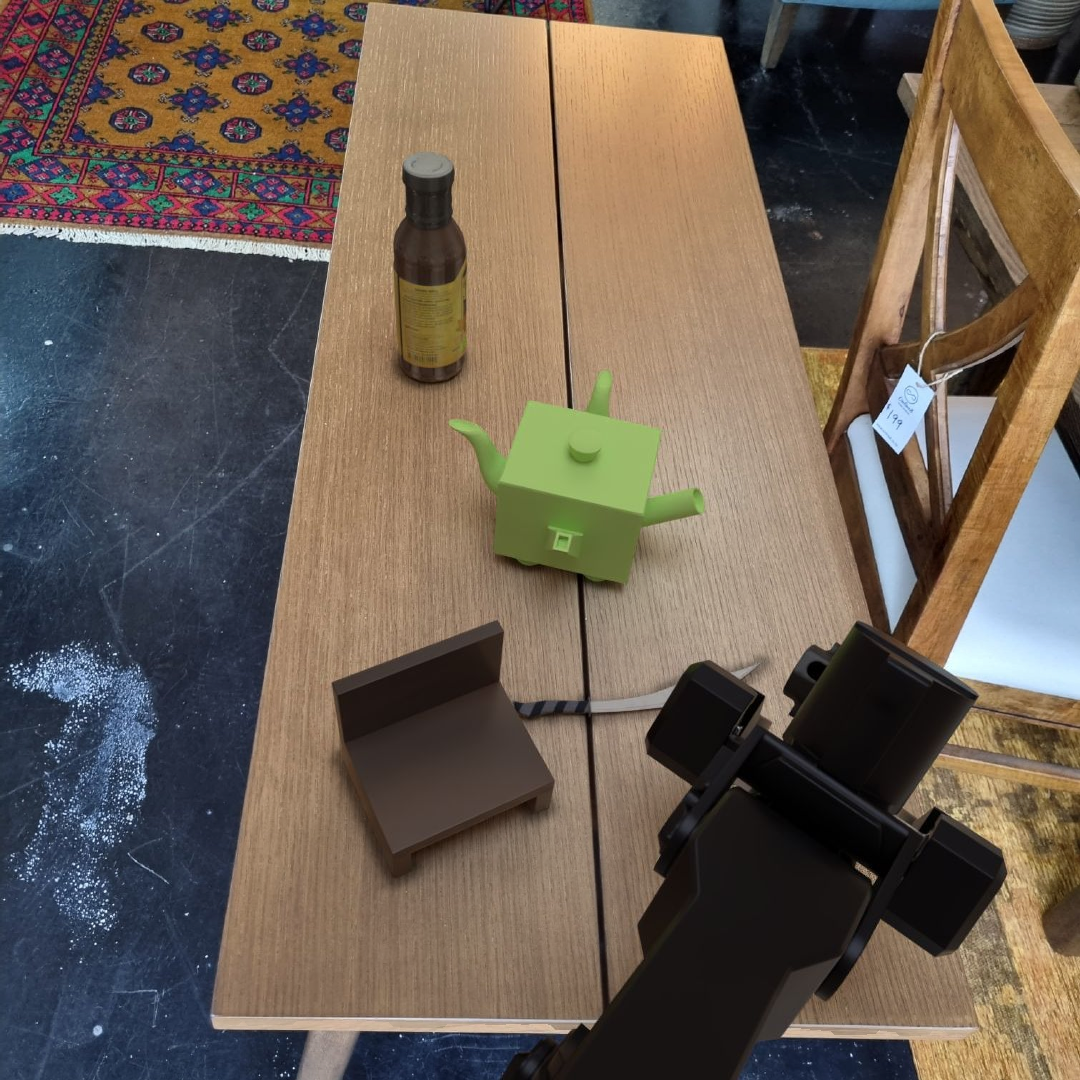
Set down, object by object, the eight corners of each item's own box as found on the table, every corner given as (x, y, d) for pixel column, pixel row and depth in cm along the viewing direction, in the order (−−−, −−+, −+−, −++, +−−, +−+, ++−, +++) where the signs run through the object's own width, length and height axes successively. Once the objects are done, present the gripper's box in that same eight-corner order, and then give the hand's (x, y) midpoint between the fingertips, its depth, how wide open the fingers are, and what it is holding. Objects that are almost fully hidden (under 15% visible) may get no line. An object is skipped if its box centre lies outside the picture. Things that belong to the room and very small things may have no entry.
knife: (519, 736, 69) (520, 729, 68) (511, 705, 70) (512, 698, 70) (773, 689, 73) (776, 682, 72) (760, 661, 75) (764, 654, 74)
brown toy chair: (549, 807, 66) (565, 735, 58) (394, 879, 62) (388, 811, 54) (490, 699, 71) (497, 619, 63) (343, 759, 67) (331, 682, 59)
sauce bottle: (477, 373, 92) (486, 177, 77) (417, 394, 90) (414, 196, 74) (443, 333, 96) (445, 137, 80) (385, 352, 93) (375, 154, 78)
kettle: (445, 508, 82) (447, 407, 73) (585, 448, 87) (602, 348, 79) (548, 640, 74) (563, 545, 66) (693, 564, 80) (724, 468, 71)
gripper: (1091, 813, 42) (1052, 751, 57) (716, 581, 48) (767, 578, 63) (945, 1018, 44) (944, 907, 59) (602, 769, 50) (678, 724, 65)
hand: (831, 770), depth 61 cm, fingers open, 9 cm apart
